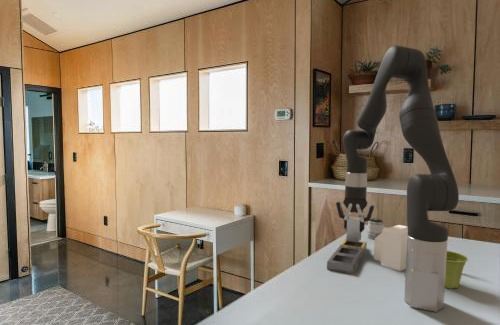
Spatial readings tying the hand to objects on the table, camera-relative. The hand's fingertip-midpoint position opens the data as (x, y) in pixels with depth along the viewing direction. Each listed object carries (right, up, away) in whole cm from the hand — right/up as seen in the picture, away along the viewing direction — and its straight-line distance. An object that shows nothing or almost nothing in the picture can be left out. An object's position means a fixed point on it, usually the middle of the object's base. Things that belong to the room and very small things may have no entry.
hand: (354, 230), depth 134 cm
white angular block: (+10, -9, -11) cm, 17 cm away
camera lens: (+14, -7, +18) cm, 24 cm away
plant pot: (+19, -11, -29) cm, 36 cm away
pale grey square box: (0, -4, 0) cm, 4 cm away
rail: (-4, -8, -8) cm, 12 cm away
